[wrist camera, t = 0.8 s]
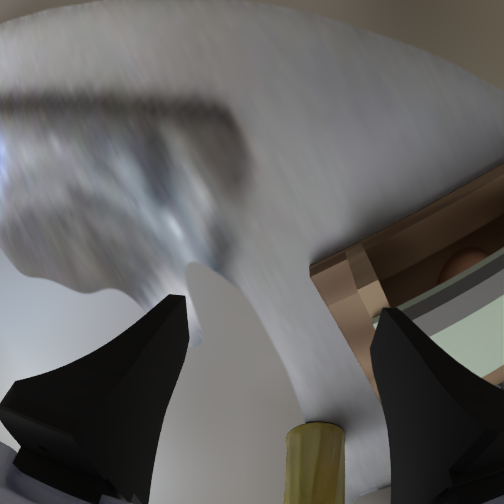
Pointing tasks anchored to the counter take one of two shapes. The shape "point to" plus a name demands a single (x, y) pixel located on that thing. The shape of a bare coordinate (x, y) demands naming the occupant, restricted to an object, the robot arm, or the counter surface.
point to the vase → (315, 464)
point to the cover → (465, 315)
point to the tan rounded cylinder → (461, 262)
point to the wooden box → (409, 261)
